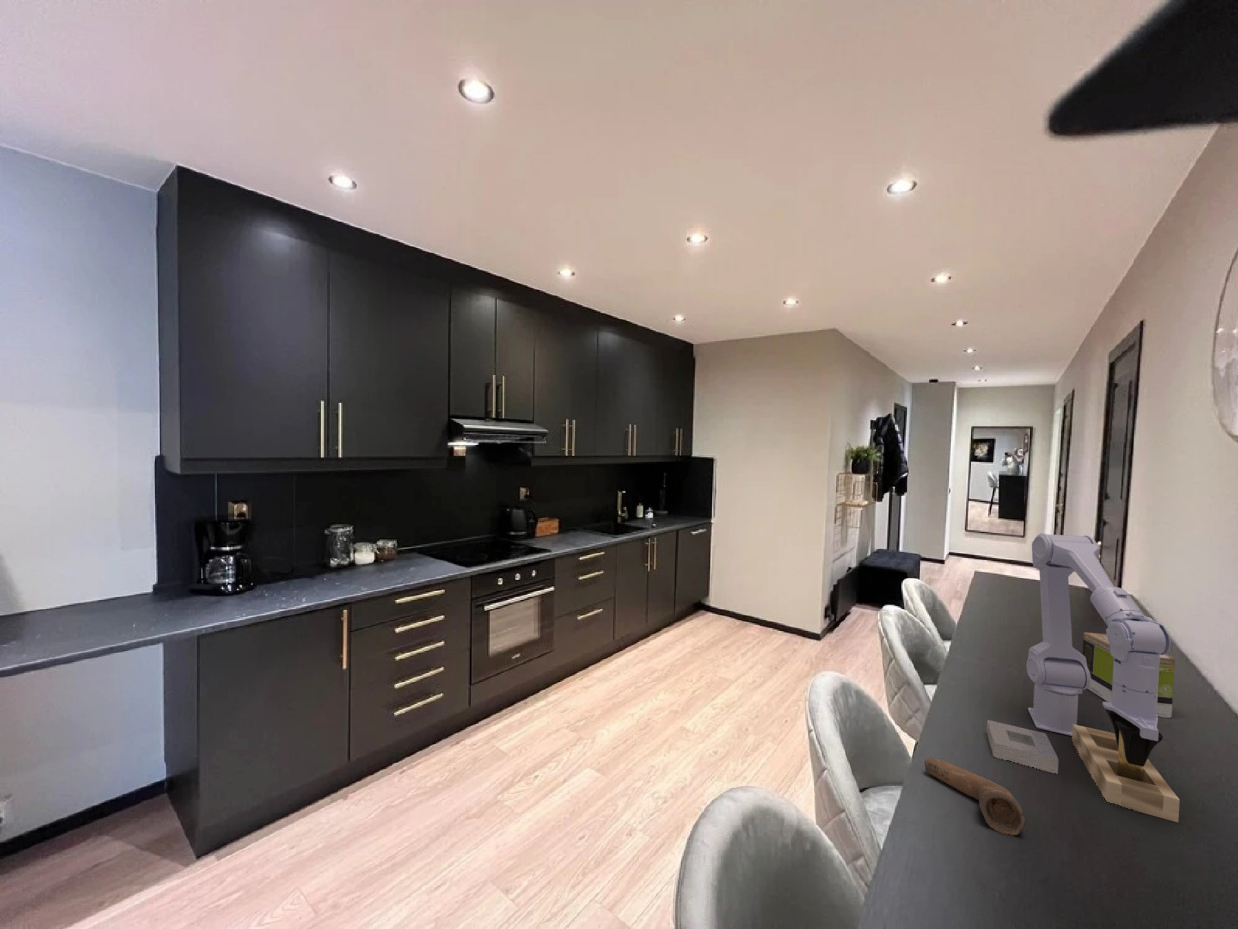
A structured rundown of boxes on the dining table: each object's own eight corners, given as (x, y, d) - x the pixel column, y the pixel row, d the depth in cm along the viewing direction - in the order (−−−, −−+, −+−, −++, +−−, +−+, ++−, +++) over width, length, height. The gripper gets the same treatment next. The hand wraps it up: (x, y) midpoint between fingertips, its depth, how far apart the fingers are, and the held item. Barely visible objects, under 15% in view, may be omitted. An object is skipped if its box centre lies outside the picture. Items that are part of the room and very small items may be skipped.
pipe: (933, 742, 98) (911, 752, 92) (1040, 789, 84) (1022, 805, 78) (929, 775, 97) (907, 788, 91) (1036, 828, 84) (1018, 846, 78)
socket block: (986, 733, 109) (987, 719, 109) (1045, 747, 104) (1045, 733, 104) (993, 757, 100) (994, 743, 100) (1057, 774, 95) (1058, 759, 95)
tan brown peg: (1114, 771, 92) (1116, 724, 92) (1138, 777, 91) (1140, 729, 90) (1120, 781, 90) (1123, 732, 89) (1145, 787, 88) (1147, 738, 88)
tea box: (1174, 719, 116) (1177, 658, 115) (1123, 714, 118) (1127, 653, 117) (1122, 688, 130) (1125, 634, 130) (1078, 684, 132) (1081, 630, 132)
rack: (1071, 742, 106) (1072, 724, 106) (1129, 756, 101) (1130, 737, 101) (1106, 802, 88) (1107, 781, 88) (1178, 822, 83) (1179, 799, 83)
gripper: (1092, 665, 98) (1088, 732, 98) (1119, 697, 85) (1115, 773, 86) (1141, 674, 94) (1137, 743, 95) (1177, 708, 82) (1173, 787, 82)
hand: (1130, 758), depth 90 cm, fingers closed on tan brown peg, 3 cm apart
